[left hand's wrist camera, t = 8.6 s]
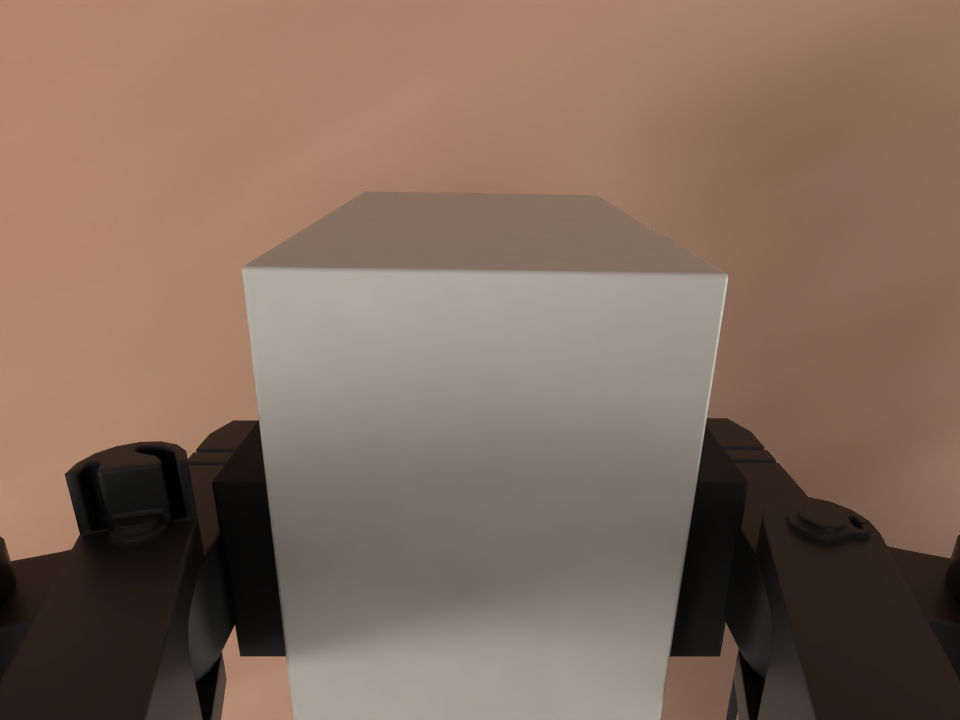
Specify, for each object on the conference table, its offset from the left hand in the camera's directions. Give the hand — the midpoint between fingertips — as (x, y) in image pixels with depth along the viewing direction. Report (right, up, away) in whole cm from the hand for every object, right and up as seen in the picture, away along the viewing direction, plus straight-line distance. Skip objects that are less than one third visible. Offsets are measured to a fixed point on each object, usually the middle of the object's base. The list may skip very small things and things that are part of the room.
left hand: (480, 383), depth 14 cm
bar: (0, -25, +10) cm, 27 cm away
